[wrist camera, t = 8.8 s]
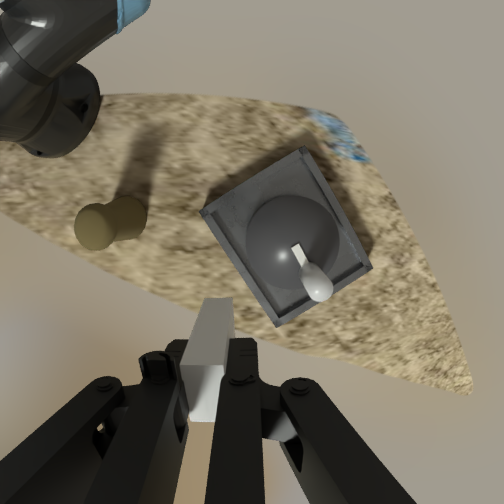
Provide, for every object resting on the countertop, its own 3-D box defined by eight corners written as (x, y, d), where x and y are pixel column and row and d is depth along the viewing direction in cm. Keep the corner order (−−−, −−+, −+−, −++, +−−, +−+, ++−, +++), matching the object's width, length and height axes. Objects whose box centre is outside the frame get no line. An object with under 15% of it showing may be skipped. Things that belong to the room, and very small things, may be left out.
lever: (229, 223, 37) (223, 234, 29) (307, 179, 36) (325, 176, 28) (272, 297, 39) (279, 327, 31) (346, 255, 38) (372, 274, 30)
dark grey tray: (202, 209, 39) (198, 211, 36) (300, 148, 38) (304, 145, 35) (274, 318, 42) (276, 328, 39) (365, 262, 41) (373, 268, 38)
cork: (134, 187, 38) (97, 189, 28) (154, 227, 40) (122, 241, 29) (101, 209, 39) (58, 218, 28) (119, 247, 40) (81, 266, 29)
